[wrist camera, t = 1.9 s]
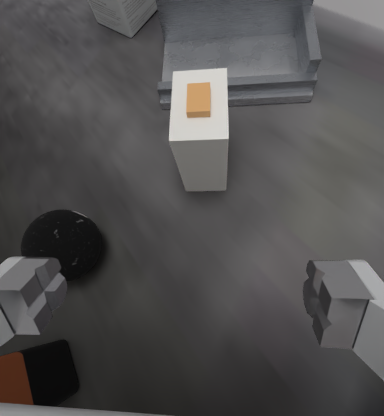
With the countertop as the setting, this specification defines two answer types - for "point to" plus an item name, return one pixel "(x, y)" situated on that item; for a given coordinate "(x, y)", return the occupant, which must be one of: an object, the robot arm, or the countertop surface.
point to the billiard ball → (64, 241)
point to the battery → (38, 375)
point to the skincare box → (123, 14)
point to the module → (200, 128)
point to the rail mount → (243, 47)
